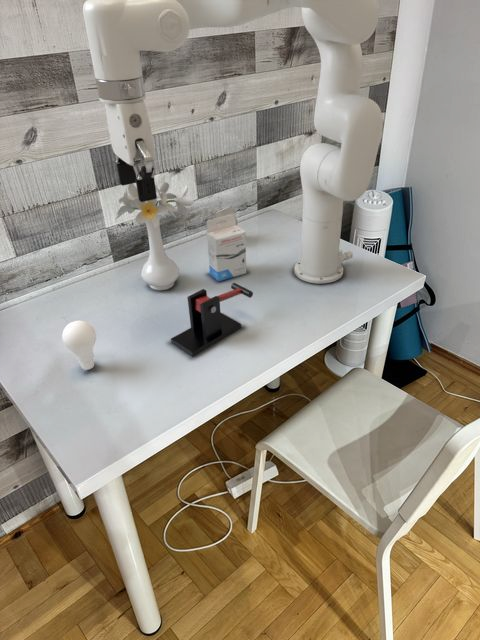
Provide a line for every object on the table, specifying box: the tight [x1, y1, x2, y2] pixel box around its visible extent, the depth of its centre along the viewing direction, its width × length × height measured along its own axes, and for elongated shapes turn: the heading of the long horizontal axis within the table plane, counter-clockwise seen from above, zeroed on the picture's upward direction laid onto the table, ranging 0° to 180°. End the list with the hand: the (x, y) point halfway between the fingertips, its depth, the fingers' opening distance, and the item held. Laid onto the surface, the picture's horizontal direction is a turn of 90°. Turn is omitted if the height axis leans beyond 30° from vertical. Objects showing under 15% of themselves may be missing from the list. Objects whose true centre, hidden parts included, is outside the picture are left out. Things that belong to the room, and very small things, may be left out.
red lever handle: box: [195, 282, 254, 312], centre depth 108 cm, size 13×6×2 cm, turn 136°
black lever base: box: [170, 288, 242, 358], centre depth 106 cm, size 14×7×10 cm, turn 136°
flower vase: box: [114, 181, 194, 291], centre depth 120 cm, size 13×18×25 cm
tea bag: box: [212, 205, 239, 227], centre depth 142 cm, size 4×7×10 cm, turn 140°
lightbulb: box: [61, 320, 97, 371], centre depth 98 cm, size 6×6×11 cm
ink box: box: [206, 213, 247, 282], centre depth 126 cm, size 8×5×15 cm, turn 123°
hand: (138, 191), depth 93 cm, fingers open, 9 cm apart
